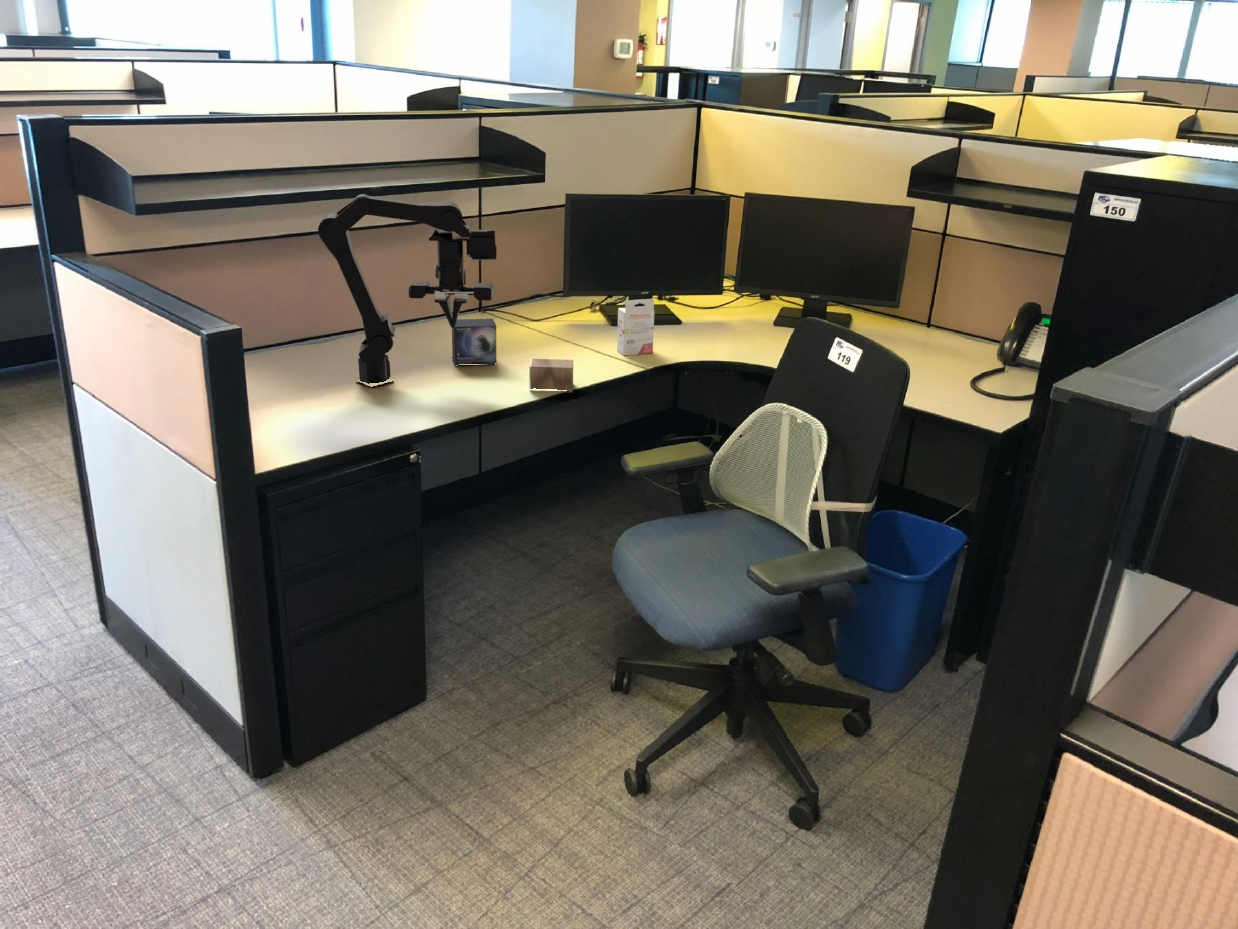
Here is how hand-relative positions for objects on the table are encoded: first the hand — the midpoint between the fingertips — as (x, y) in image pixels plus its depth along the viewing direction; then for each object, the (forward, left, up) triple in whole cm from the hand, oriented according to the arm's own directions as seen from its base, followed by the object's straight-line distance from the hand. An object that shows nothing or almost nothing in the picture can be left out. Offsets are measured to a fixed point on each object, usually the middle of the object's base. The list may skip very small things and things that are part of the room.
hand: (452, 327), depth 223 cm
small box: (+13, +7, -13) cm, 20 cm away
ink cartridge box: (+49, -16, -13) cm, 53 cm away
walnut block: (+9, -16, -10) cm, 21 cm away
